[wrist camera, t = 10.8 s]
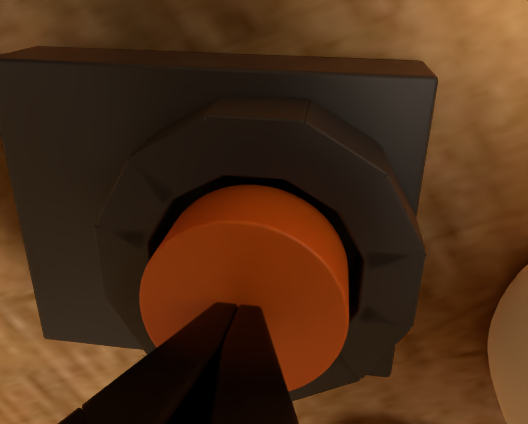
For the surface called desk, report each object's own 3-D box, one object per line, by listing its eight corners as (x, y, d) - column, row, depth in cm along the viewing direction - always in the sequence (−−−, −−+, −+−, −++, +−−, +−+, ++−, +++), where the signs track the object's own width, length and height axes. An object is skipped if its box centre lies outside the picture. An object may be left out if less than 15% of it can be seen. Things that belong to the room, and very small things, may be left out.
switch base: (78, 297, 17) (6, 384, 13) (35, 45, 13) (-78, 71, 10) (384, 327, 16) (397, 433, 12) (424, 60, 12) (457, 96, 9)
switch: (172, 332, 12) (146, 385, 11) (160, 177, 10) (128, 212, 9) (340, 350, 12) (339, 408, 10) (357, 190, 10) (359, 230, 8)
